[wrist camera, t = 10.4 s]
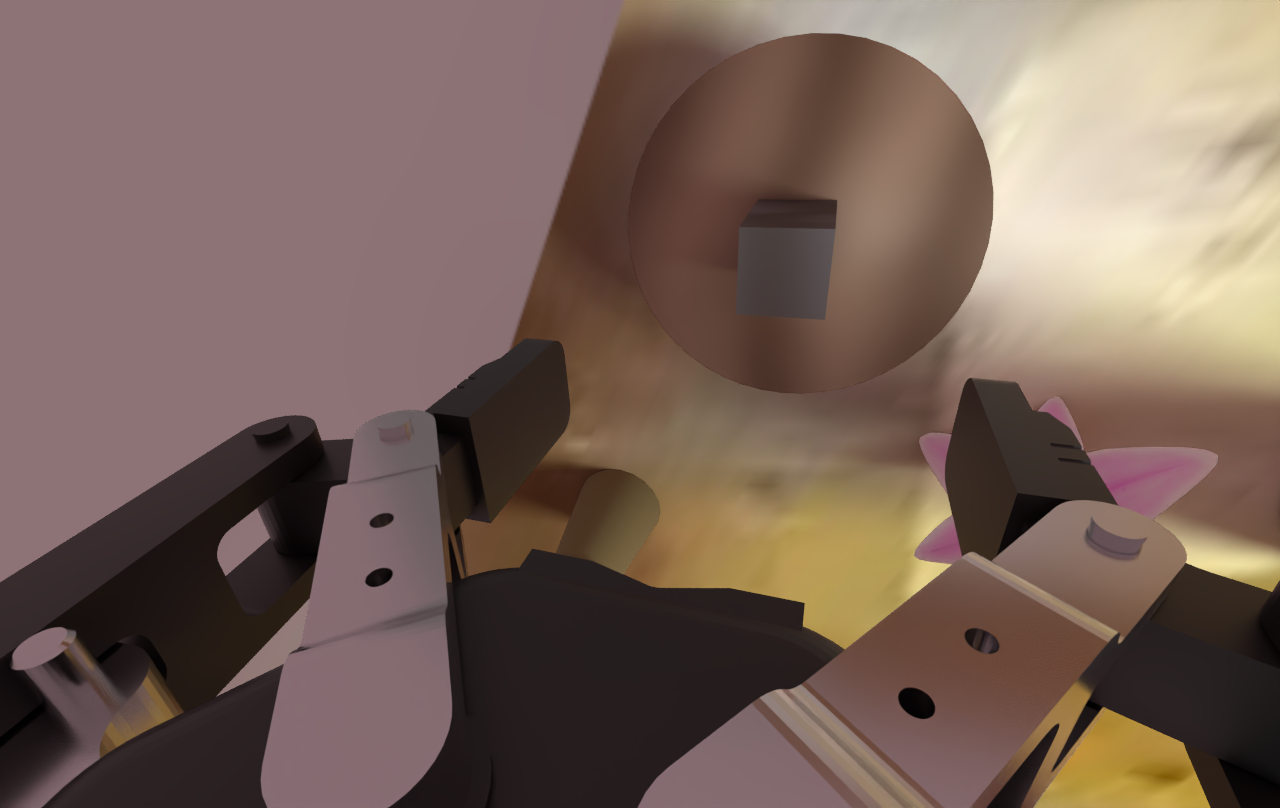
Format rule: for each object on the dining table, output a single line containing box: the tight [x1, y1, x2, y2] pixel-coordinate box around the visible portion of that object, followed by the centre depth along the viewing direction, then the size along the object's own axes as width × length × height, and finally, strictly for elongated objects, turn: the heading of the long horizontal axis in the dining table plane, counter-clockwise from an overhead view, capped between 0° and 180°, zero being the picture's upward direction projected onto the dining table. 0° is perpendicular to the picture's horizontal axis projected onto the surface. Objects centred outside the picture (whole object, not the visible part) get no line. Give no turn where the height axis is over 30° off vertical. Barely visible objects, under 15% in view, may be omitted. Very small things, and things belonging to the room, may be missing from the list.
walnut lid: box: [629, 33, 993, 393], centre depth 22 cm, size 14×14×6 cm
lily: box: [914, 396, 1218, 564], centre depth 30 cm, size 12×12×10 cm
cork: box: [556, 469, 660, 574], centre depth 38 cm, size 6×6×11 cm
